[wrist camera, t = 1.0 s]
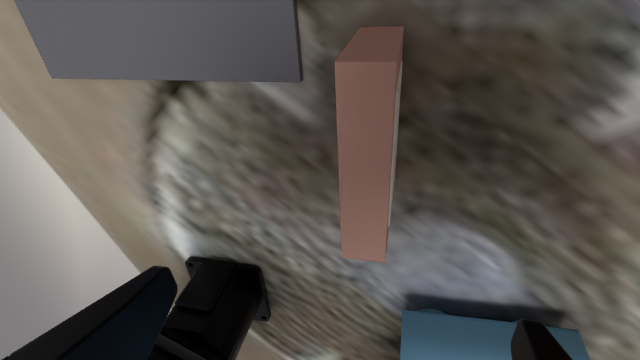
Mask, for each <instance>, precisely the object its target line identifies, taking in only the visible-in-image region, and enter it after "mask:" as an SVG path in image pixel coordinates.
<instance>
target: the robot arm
mask: <svg viewBox="0 0 640 360" xmlns="http://www.w3.org/2000/svg"><path fill="white" fill-rule="evenodd" d="M185 265H186V267H187V270H188V272H189V275H190V277H191V279H190V281H189V282H188V284H187V285H186V287H185V288H184V290H183V291H182V292H181V294H180V295H179V297H178V298H177V300H176V301H175V306H174V307H173V309H172V310H171V312H170V313H169V311H170V309H171V306H172V304H173V302H174V299H175V297H176V295H177V290H178V288H177V284H176V282H175V279H174V277H173V275H172V272H171V270H170V269H169V268H168V267H164V266H153V267H151V268H149V269H148V270H146V271H144V272H143V273H141V274H140V275H138V276H137V277H135V278H133V279H131V280H130V281H128V282H127V283H125V284H123V285H122V286H120V287H118V288H117V289H115V290H114V291H112V292H110V293H109V294H107V295H106V296H104V297H103V298H101V299H99V300H97V301H96V302H94V303H93V304H91V305H89V306H88V307H86V308H85V309H83V310H81V311H80V312H78V313H76V314H75V315H73V316H72V317H70V318H68V319H67V320H65V321H63V322H62V323H60V324H59V325H57V326H55V327H54V328H52V329H51V330H49V331H48V332H46V333H44V334H42V335H41V336H39V337H38V338H36V339H34V340H33V341H31V342H29V343H28V344H26V345H25V346H23V347H22V348H20V349H18V350H17V351H15V352H13V353H12V354H11V355H10V356H7V357H5V358H3V359H2V360H235V359H236V357H237V355H238V352H239V350H240V348H241V346H242V343H243V341H244V339H245V337H246V334H247V332H248V330H249V328H250V325H251V323H252V321H253V319H254V320H260V321H266V322H267V321H269V319H270V316H271V314H270V310H269V305H268V301H267V296H266V292H265V287H264V283H263V278H262V274H261V270H260V269H259V268H257V267H255V266H249V265H242V264H235V263H228V262H221V261H214V260H208V259H201V258H194V257H189V258H188V259H187V261H186V262H185ZM168 313H169V314H168ZM511 356H512V360H573V359H572V358H571V357H570V356H569V354H568V353H567V352H566V351H565V350H564V348H563V347H562V346H561V345H560V343H559V342H558V341H557V340H556V339H555V337H554V336H553V335H552V334H551V333H550V331H549V330H548V329H547V328H546V326H545V325H544V324H543V323H541V322H540V321H537V320H530V319H520V320H519V321H518V323H517V326H516V329H515V331H514V334H513V336H512V339H511Z"/></svg>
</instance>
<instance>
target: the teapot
mask: <svg viewBox="0 0 640 360" xmlns="http://www.w3.org/2000/svg"><path fill="white" fill-rule="evenodd" d="M518 321H519V320H516V321H513V322H505V321H496V320H488V319H479V318H470V317H462V316H453V315H446V314H445V313H443V312H441V311H439V310H436V309H422V310H419V311H411V310H403V311H402V332H401V352H400V360H512V356H511V339H512V336H513V334H514V331H515V329H516V326H517V323H518ZM546 328H547V329H548V330H549V331H550V333H551V334H552V335H553V336H554V337H555V339H556V340H557V341H558V342H559V343H560V345H561V346H562V347H563V348H564V350H565V351H566V352H567V353H568V354H569V356H570V357H571V358H572V359H573V360H590V358H589V356H588V353H587V351H586V349H585V346H584V344H583V341H582V339H581V336H580V334H579V331H578V330H574V329H565V328H557V327H548V326H546Z"/></svg>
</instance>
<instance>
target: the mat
mask: <svg viewBox="0 0 640 360" xmlns="http://www.w3.org/2000/svg"><path fill="white" fill-rule="evenodd" d="M14 1H15V3H16V5H17V8H18V10H19V12H20V14H21V16H22V18H23V20H24V22H25V24H26V26H27V28H28V30H29V32H30V34H31V36H32V38H33V40H34V43H35V45H36V47H37V49H38V51H39V53H40V55H41V57H42V59H43V61H44V63H45V65H46V67H47V69H48V71H49V73H50V76H51V78H63V79H127V80H191V81H255V82H301V81H302V69H301V58H300V47H299V36H298V25H297V13H296V2H295V0H14Z"/></svg>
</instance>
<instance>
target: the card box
mask: <svg viewBox="0 0 640 360" xmlns="http://www.w3.org/2000/svg"><path fill="white" fill-rule="evenodd" d="M403 33H404V26H383V27H359V29H358V30H357V32H356V33H355V34H354V36H353V37H352V39H351V40H350V41H349V43H348V44H347V45H346V47H345V48H344V50H343V51H342V52H341V54H340V55H339V56H338V58H337V59H336V61H335V86H336V113H337V140H338V167H339V194H340V222H341V249H342V257H345V258H353V259H360V260H368V261H376V262H383V263H385V258H386V249H387V240H388V231H389V226H390V217H391V208H392V199H393V190H394V181H395V167H396V153H397V138H398V123H399V108H400V93H401V79H402V64H403V61H402V48H403Z"/></svg>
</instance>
